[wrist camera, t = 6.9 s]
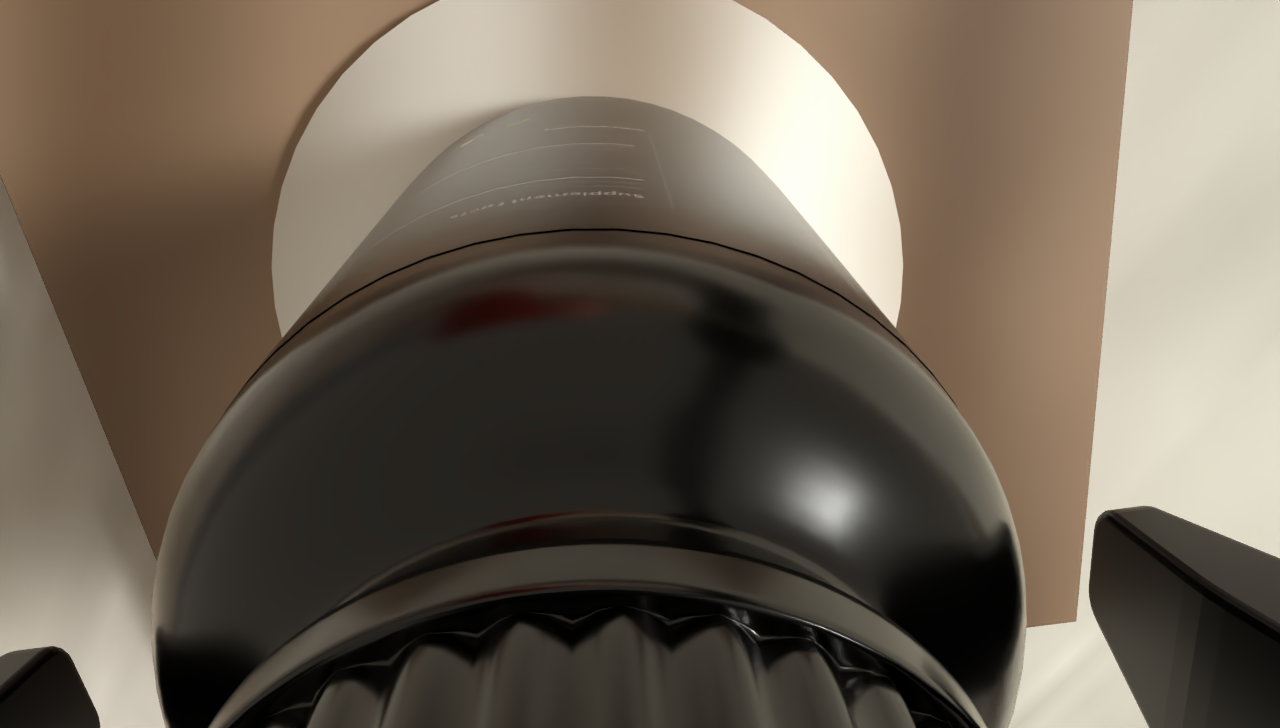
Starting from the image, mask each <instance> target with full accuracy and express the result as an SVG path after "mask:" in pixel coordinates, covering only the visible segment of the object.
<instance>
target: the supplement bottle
mask: <svg viewBox="0 0 1280 728" xmlns="http://www.w3.org/2000/svg"><path fill="white" fill-rule="evenodd" d="M1026 625H1027V617H1026V586H1025V574H1024V568H1023V561H1022V555H1021V548H1020V542H1019V539H1018V535H1017V532H1016V528H1015V525H1014V521H1013V518H1012V514H1011V511H1010V507H1009V504H1008V500H1007V497H1006V495H1005V493H1004V490H1003V488H1002V486H1001V483H1000V481H999V479H998V476H997V474H996V471H995V469H994V467H993V464H992V463H991V461H990V459H989V457H988V456H987V454H986V452H985V450H984V449H983V447H982V445H981V444H980V442H979V440H978V438H977V437H976V435H975V433H974V431H973V430H972V428H971V427H970V425H969V423H968V422H967V420H966V419H965V417H964V416H963V414H962V413H961V412H960V410H959V409H958V407H957V406H956V404H955V402H954V401H953V400H952V398H951V397H950V396H949V394H948V393H947V392H946V390H945V389H944V388H943V386H942V385H941V384H940V382H939V381H938V380H937V378H936V377H935V376H934V374H933V373H932V372H931V370H930V369H929V368H928V367H927V365H926V364H925V363H924V362H923V360H922V359H921V358H920V357H919V356H918V354H917V353H916V352H915V351H914V349H913V348H912V347H911V346H910V345H909V343H908V342H907V341H906V340H905V339H904V337H903V336H902V335H901V334H900V333H899V331H898V330H897V329H896V328H895V327H894V325H893V324H892V323H891V322H890V321H889V319H888V318H887V317H886V316H885V315H884V313H883V312H882V311H881V310H880V309H879V307H878V306H877V305H876V304H875V303H874V301H873V300H872V299H871V298H870V297H869V295H868V294H867V293H866V292H865V291H864V289H863V288H862V287H861V286H860V285H859V283H858V282H857V281H856V280H855V279H854V277H853V276H852V275H851V274H850V273H849V271H848V270H847V269H846V268H845V267H844V265H843V264H842V263H841V262H840V261H839V259H838V258H837V257H836V256H835V255H834V253H833V252H832V251H831V250H830V249H829V247H828V246H827V245H826V244H825V243H824V241H823V240H822V239H821V238H820V237H819V235H818V234H817V233H816V232H815V231H814V229H813V228H812V227H811V226H810V225H809V223H808V222H807V221H806V220H805V219H804V217H803V216H802V215H801V214H800V213H799V211H798V210H797V209H796V208H795V207H794V205H793V204H792V203H791V202H790V201H789V199H788V198H787V197H786V196H785V195H784V193H783V192H782V191H781V190H780V189H779V188H778V186H777V185H776V184H775V183H774V182H773V181H772V180H771V179H770V178H769V177H768V176H767V175H766V174H765V173H764V172H763V170H761V169H760V168H759V167H758V165H757V164H756V163H755V162H754V161H753V160H752V159H751V158H749V157H748V156H747V155H746V154H745V153H744V152H743V151H741V150H740V149H739V148H738V147H737V146H736V145H734V144H733V143H732V142H730V141H729V140H727V139H726V138H724V137H723V136H722V135H720V134H719V133H717V132H716V131H714V130H712V129H710V128H709V127H707V126H705V125H703V124H701V123H700V122H698V121H696V120H694V119H692V118H689V117H687V116H685V115H682V114H680V113H678V112H676V111H673V110H670V109H667V108H664V107H661V106H657V105H654V104H651V103H647V102H642V101H637V100H632V99H627V98H617V97H607V96H578V97H568V98H558V99H553V100H548V101H544V102H539V103H534V104H531V105H528V106H525V107H521V108H518V109H515V110H512V111H510V112H508V113H505V114H503V115H501V116H498V117H496V118H494V119H491V120H489V121H488V122H486V123H484V124H482V125H480V126H479V127H477V128H475V129H473V130H472V131H470V132H468V133H467V134H465V135H464V136H462V137H461V138H460V139H458V140H457V141H455V142H454V143H453V144H451V145H450V146H449V147H447V148H446V149H445V150H444V151H443V152H442V153H441V154H439V155H438V156H437V157H436V158H435V159H434V160H433V161H432V162H431V163H430V164H429V165H428V166H427V167H426V168H425V169H424V170H423V171H422V172H421V173H420V174H419V175H418V176H417V177H416V178H415V180H414V181H413V182H412V183H411V184H410V185H409V186H408V187H407V188H406V189H405V191H404V192H403V193H402V194H401V195H400V197H399V198H398V199H397V200H396V201H395V203H394V204H393V205H392V206H391V207H390V209H389V210H388V211H387V212H386V213H385V215H384V216H383V217H382V218H381V219H380V221H379V222H378V223H377V224H376V226H375V227H374V228H373V229H372V230H371V232H370V233H369V234H368V235H367V236H366V238H365V239H364V240H363V241H362V242H361V244H360V245H359V246H358V247H357V248H356V250H355V251H354V252H353V253H352V254H351V256H350V257H349V258H348V259H347V260H346V262H345V263H344V264H343V265H342V267H341V268H340V269H339V270H338V271H337V273H336V274H335V275H334V276H333V277H332V279H331V280H330V281H329V282H328V283H327V285H326V286H325V287H324V288H323V289H322V291H321V292H320V293H319V294H318V295H317V297H316V298H315V299H314V300H313V301H312V303H311V304H310V305H309V306H308V308H307V309H306V310H305V311H304V312H303V314H302V315H301V316H300V317H299V318H298V320H297V321H296V322H295V323H294V324H293V326H292V327H291V328H290V329H289V330H288V332H287V333H286V334H285V335H284V336H283V338H282V339H281V340H280V341H279V343H278V344H277V345H276V346H275V347H274V349H273V350H272V351H271V352H270V353H269V355H268V356H267V357H266V358H265V360H264V361H263V362H262V363H261V364H260V366H259V367H258V368H257V369H256V370H255V372H254V373H253V374H252V376H251V377H250V378H249V379H248V381H247V382H246V383H245V385H244V386H243V388H242V389H241V390H240V392H239V393H238V394H237V396H236V397H235V398H234V400H233V401H232V403H231V404H230V405H229V407H228V408H227V409H226V411H225V412H224V414H223V416H222V417H221V419H220V420H219V421H218V423H217V424H216V426H215V427H214V428H213V430H212V431H211V433H210V435H209V436H208V438H207V439H206V441H205V443H204V444H203V446H202V448H201V450H200V452H199V453H198V455H197V457H196V459H195V460H194V462H193V464H192V466H191V467H190V469H189V471H188V473H187V475H186V476H185V478H184V481H183V483H182V485H181V488H180V490H179V493H178V495H177V498H176V500H175V503H174V505H173V507H172V510H171V512H170V515H169V519H168V522H167V526H166V530H165V533H164V537H163V541H162V545H161V548H160V552H159V556H158V560H157V565H156V573H155V580H154V588H153V595H152V644H151V645H152V655H153V664H154V672H155V680H156V688H157V694H158V699H159V703H160V707H161V711H162V715H163V719H164V723H165V727H166V728H1008V727H1009V724H1010V721H1011V718H1012V715H1013V712H1014V708H1015V703H1016V698H1017V694H1018V689H1019V684H1020V679H1021V674H1022V669H1023V660H1024V649H1025V638H1026Z"/></svg>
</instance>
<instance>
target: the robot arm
mask: <svg viewBox="0 0 1280 728" xmlns="http://www.w3.org/2000/svg"><path fill="white" fill-rule="evenodd" d="M1089 598H1090V603H1091V607H1092V611H1093V614H1094V616H1095V618H1096V621H1097V623H1098V625H1099V627H1100V629H1101V631H1102V633H1103V635H1104V637H1105V639H1106V641H1107V643H1108V645H1109V647H1110V649H1111V651H1112V653H1113V655H1114V657H1115V659H1116V661H1117V663H1118V665H1119V667H1120V669H1121V671H1122V674H1123V676H1124V678H1125V680H1126V682H1127V684H1128V686H1129V688H1130V690H1131V692H1132V694H1133V696H1134V698H1135V700H1136V702H1137V704H1138V706H1139V708H1140V710H1141V712H1142V714H1143V716H1144V718H1145V720H1146V722H1147V724H1148V726H1149V728H1280V558H1277V557H1275V556H1272V555H1270V554H1268V553H1265V552H1263V551H1260V550H1258V549H1255V548H1253V547H1250V546H1248V545H1245V544H1243V543H1241V542H1238V541H1236V540H1233V539H1231V538H1228V537H1226V536H1223V535H1221V534H1218V533H1216V532H1214V531H1211V530H1209V529H1206V528H1204V527H1201V526H1199V525H1196V524H1194V523H1191V522H1189V521H1187V520H1184V519H1182V518H1179V517H1177V516H1174V515H1172V514H1169V513H1167V512H1164V511H1162V510H1160V509H1157V508H1154V507H1151V506H1139V507H1131V508H1123V509H1116V510H1108V511H1105V512H1104V513H1102V514H1101V515H1100V516H1099V517H1098V519H1097V521H1096V524H1095V529H1094V538H1093V548H1092V559H1091V570H1090V580H1089ZM0 728H100V722H99V716H98V714H97V711H96V709H95V707H94V705H93V703H92V701H91V698H90V696H89V694H88V692H87V690H86V688H85V686H84V684H83V682H82V680H81V677H80V675H79V673H78V671H77V669H76V667H75V665H74V663H73V661H72V659H71V657H70V656H69V654H68V653H67V652H65V651H64V650H63V649H61V648H58V647H54V646H50V647H42V648H34V649H26V650H18V651H13V652H10V653H7V654H5V655H3V656H1V657H0Z"/></svg>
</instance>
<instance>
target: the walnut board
mask: <svg viewBox="0 0 1280 728" xmlns="http://www.w3.org/2000/svg"><path fill="white" fill-rule="evenodd" d="M1132 6H1133V0H0V175H1V178H2V180H3V183H4V185H5V187H6V190H7V192H8V195H9V197H10V200H11V202H12V205H13V207H14V210H15V212H16V215H17V217H18V220H19V222H20V224H21V227H22V229H23V232H24V234H25V237H26V239H27V242H28V244H29V247H30V249H31V252H32V254H33V257H34V259H35V261H36V264H37V266H38V269H39V271H40V274H41V276H42V279H43V281H44V284H45V286H46V289H47V291H48V294H49V296H50V298H51V301H52V303H53V306H54V308H55V311H56V313H57V316H58V318H59V321H60V323H61V326H62V328H63V330H64V333H65V335H66V338H67V340H68V343H69V345H70V348H71V350H72V353H73V355H74V358H75V360H76V363H77V365H78V367H79V370H80V372H81V375H82V377H83V380H84V382H85V385H86V387H87V390H88V392H89V395H90V397H91V400H92V402H93V404H94V407H95V409H96V412H97V414H98V417H99V419H100V422H101V424H102V427H103V429H104V432H105V434H106V437H107V439H108V441H109V444H110V446H111V449H112V451H113V454H114V456H115V459H116V461H117V464H118V466H119V469H120V471H121V473H122V476H123V478H124V481H125V483H126V486H127V488H128V491H129V493H130V496H131V498H132V501H133V503H134V506H135V508H136V510H137V513H138V515H139V518H140V520H141V523H142V525H143V528H144V530H145V533H146V535H147V538H148V540H149V543H150V545H151V547H152V550H153V552H154V555H155V557H156V560H158V556H159V552H160V548H161V545H162V541H163V537H164V533H165V530H166V526H167V522H168V519H169V515H170V512H171V510H172V507H173V505H174V503H175V500H176V498H177V495H178V493H179V490H180V488H181V485H182V483H183V481H184V478H185V476H186V475H187V473H188V471H189V469H190V467H191V466H192V464H193V462H194V460H195V459H196V457H197V455H198V453H199V452H200V450H201V448H202V446H203V444H204V443H205V441H206V439H207V438H208V436H209V435H210V433H211V431H212V430H213V428H214V427H215V426H216V424H217V423H218V421H219V420H220V419H221V417H222V416H223V414H224V412H225V411H226V409H227V408H228V407H229V405H230V404H231V403H232V401H233V400H234V398H235V397H236V396H237V394H238V393H239V392H240V390H241V389H242V388H243V386H244V385H245V383H246V382H247V381H248V379H249V378H250V377H251V376H252V374H253V373H254V372H255V370H256V369H257V368H258V367H259V366H260V364H261V363H262V362H263V361H264V360H265V358H266V357H267V356H268V355H269V353H270V352H271V351H272V350H273V349H274V347H275V346H276V345H277V344H278V343H279V341H280V340H281V339H282V338H283V336H284V335H285V334H286V333H287V332H288V330H289V329H290V328H291V327H292V326H293V324H294V323H295V322H296V321H297V320H298V318H299V317H300V316H301V315H302V314H303V312H304V311H305V310H306V309H307V308H308V306H309V305H310V304H311V303H312V301H313V300H314V299H315V298H316V297H317V295H318V294H319V293H320V292H321V291H322V289H323V288H324V287H325V286H326V285H327V283H328V282H329V281H330V280H331V279H332V277H333V276H334V275H335V274H336V273H337V271H338V270H339V269H340V268H341V267H342V265H343V264H344V263H345V262H346V260H347V259H348V258H349V257H350V256H351V254H352V253H353V252H354V251H355V250H356V248H357V247H358V246H359V245H360V244H361V242H362V241H363V240H364V239H365V238H366V236H367V235H368V234H369V233H370V232H371V230H372V229H373V228H374V227H375V226H376V224H377V223H378V222H379V221H380V219H381V218H382V217H383V216H384V215H385V213H386V212H387V211H388V210H389V209H390V207H391V206H392V205H393V204H394V203H395V201H396V200H397V199H398V198H399V197H400V195H401V194H402V193H403V192H404V191H405V189H406V188H407V187H408V186H409V185H410V184H411V183H412V182H413V181H414V180H415V178H416V177H417V176H418V175H419V174H420V173H421V172H422V171H423V170H424V169H425V168H426V167H427V166H428V165H429V164H430V163H431V162H432V161H433V160H434V159H435V158H436V157H437V156H438V155H439V154H441V153H442V152H443V151H444V150H445V149H446V148H447V147H449V146H450V145H451V144H453V143H454V142H455V141H457V140H458V139H460V138H461V137H462V136H464V135H465V134H467V133H468V132H470V131H472V130H473V129H475V128H477V127H479V126H480V125H482V124H484V123H486V122H488V121H489V120H491V119H494V118H496V117H498V116H501V115H503V114H505V113H508V112H510V111H512V110H515V109H518V108H521V107H525V106H528V105H531V104H534V103H539V102H544V101H548V100H553V99H558V98H568V97H578V96H607V97H617V98H627V99H632V100H637V101H642V102H647V103H651V104H654V105H657V106H661V107H664V108H667V109H670V110H673V111H676V112H678V113H680V114H682V115H685V116H687V117H689V118H692V119H694V120H696V121H698V122H700V123H701V124H703V125H705V126H707V127H709V128H710V129H712V130H714V131H716V132H717V133H719V134H720V135H722V136H723V137H724V138H726V139H727V140H729V141H730V142H732V143H733V144H734V145H736V146H737V147H738V148H739V149H740V150H741V151H743V152H744V153H745V154H746V155H747V156H748V157H749V158H751V159H752V160H753V161H754V162H755V163H756V164H757V165H758V167H759V168H760V169H761V170H763V172H764V173H765V174H766V175H767V176H768V177H769V178H770V179H771V180H772V181H773V182H774V183H775V184H776V185H777V186H778V188H779V189H780V190H781V191H782V192H783V193H784V195H785V196H786V197H787V198H788V199H789V201H790V202H791V203H792V204H793V205H794V207H795V208H796V209H797V210H798V211H799V213H800V214H801V215H802V216H803V217H804V219H805V220H806V221H807V222H808V223H809V225H810V226H811V227H812V228H813V229H814V231H815V232H816V233H817V234H818V235H819V237H820V238H821V239H822V240H823V241H824V243H825V244H826V245H827V246H828V247H829V249H830V250H831V251H832V252H833V253H834V255H835V256H836V257H837V258H838V259H839V261H840V262H841V263H842V264H843V265H844V267H845V268H846V269H847V270H848V271H849V273H850V274H851V275H852V276H853V277H854V279H855V280H856V281H857V282H858V283H859V285H860V286H861V287H862V288H863V289H864V291H865V292H866V293H867V294H868V295H869V297H870V298H871V299H872V300H873V301H874V303H875V304H876V305H877V306H878V307H879V309H880V310H881V311H882V312H883V313H884V315H885V316H886V317H887V318H888V319H889V321H890V322H891V323H892V324H893V325H894V327H895V328H896V329H897V330H898V331H899V333H900V334H901V335H902V336H903V337H904V339H905V340H906V341H907V342H908V343H909V345H910V346H911V347H912V348H913V349H914V351H915V352H916V353H917V354H918V356H919V357H920V358H921V359H922V360H923V362H924V363H925V364H926V365H927V367H928V368H929V369H930V370H931V372H932V373H933V374H934V376H935V377H936V378H937V380H938V381H939V382H940V384H941V385H942V386H943V388H944V389H945V390H946V392H947V393H948V394H949V396H950V397H951V398H952V400H953V401H954V402H955V404H956V406H957V407H958V409H959V410H960V412H961V413H962V414H963V416H964V417H965V419H966V420H967V422H968V423H969V425H970V427H971V428H972V430H973V431H974V433H975V435H976V437H977V438H978V440H979V442H980V444H981V445H982V447H983V449H984V450H985V452H986V454H987V456H988V457H989V459H990V461H991V463H992V464H993V467H994V469H995V471H996V474H997V476H998V479H999V481H1000V483H1001V486H1002V488H1003V490H1004V493H1005V495H1006V497H1007V500H1008V504H1009V507H1010V511H1011V514H1012V518H1013V521H1014V525H1015V528H1016V532H1017V535H1018V539H1019V542H1020V548H1021V555H1022V561H1023V568H1024V574H1025V586H1026V617H1027V625H1026V628H1027V627H1035V626H1043V625H1051V624H1059V623H1067V622H1075V621H1076V617H1077V606H1078V595H1079V584H1080V573H1081V562H1082V551H1083V541H1084V530H1085V519H1086V508H1087V497H1088V486H1089V475H1090V464H1091V453H1092V442H1093V431H1094V421H1095V410H1096V399H1097V388H1098V377H1099V366H1100V355H1101V344H1102V333H1103V322H1104V312H1105V301H1106V290H1107V279H1108V268H1109V257H1110V246H1111V235H1112V224H1113V213H1114V202H1115V192H1116V181H1117V170H1118V159H1119V148H1120V137H1121V126H1122V115H1123V104H1124V93H1125V82H1126V72H1127V61H1128V50H1129V39H1130V28H1131V17H1132Z"/></svg>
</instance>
